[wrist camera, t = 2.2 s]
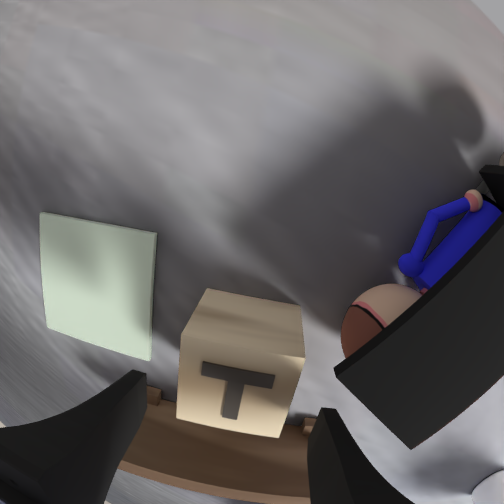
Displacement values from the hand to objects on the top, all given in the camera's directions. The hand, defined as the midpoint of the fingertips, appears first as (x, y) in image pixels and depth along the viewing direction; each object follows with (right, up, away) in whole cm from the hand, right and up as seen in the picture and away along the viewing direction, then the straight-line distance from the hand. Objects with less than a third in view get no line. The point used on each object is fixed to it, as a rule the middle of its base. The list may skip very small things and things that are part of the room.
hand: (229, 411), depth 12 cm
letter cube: (+1, +2, +6) cm, 6 cm away
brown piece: (-1, -5, +8) cm, 9 cm away
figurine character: (+12, +7, +4) cm, 14 cm away
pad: (-9, +4, +6) cm, 11 cm away
